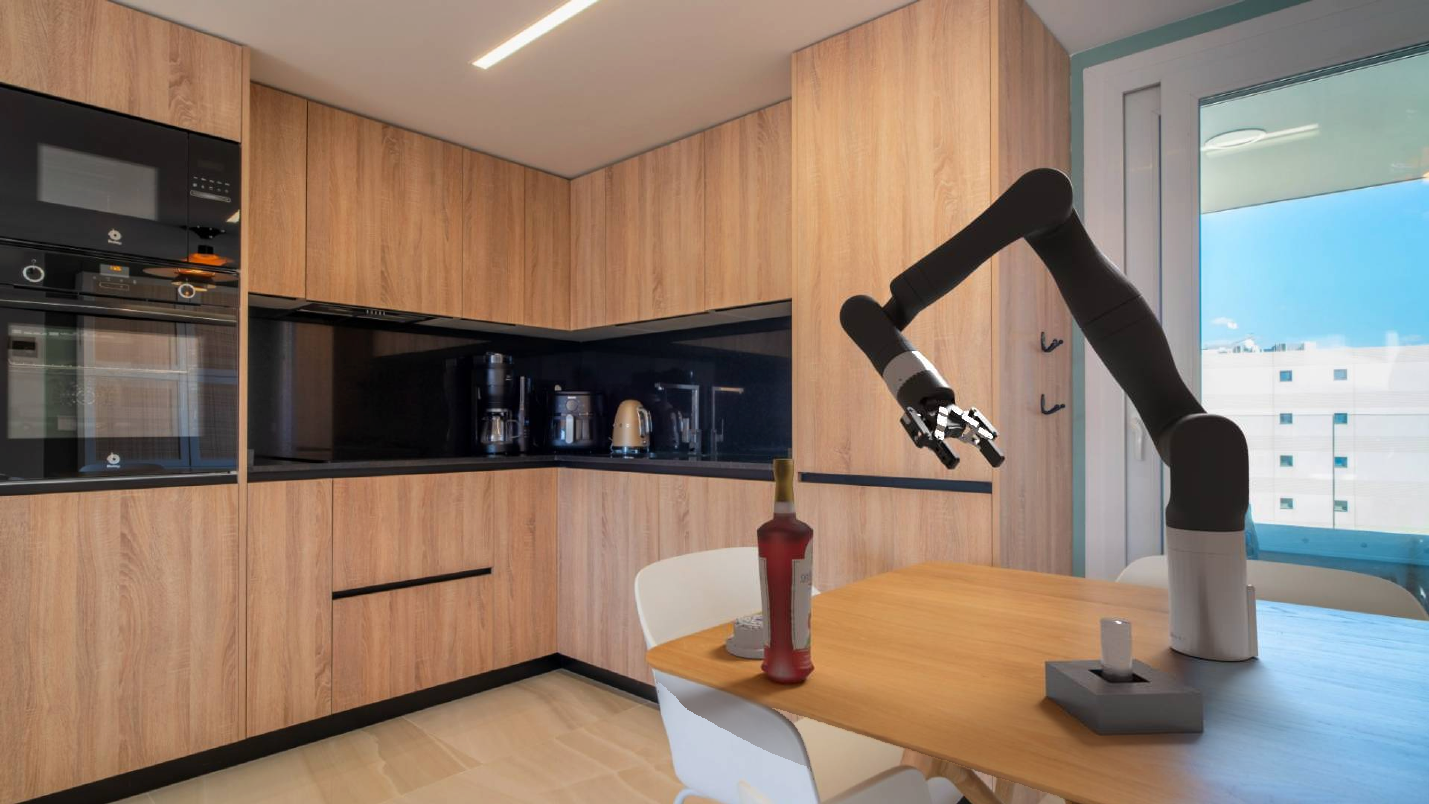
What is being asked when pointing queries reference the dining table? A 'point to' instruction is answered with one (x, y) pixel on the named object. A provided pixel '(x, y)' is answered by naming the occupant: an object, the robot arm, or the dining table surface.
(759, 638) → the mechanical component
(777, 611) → the liquor
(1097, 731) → the square hole block
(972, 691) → the dining table surface
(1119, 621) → the steel pin
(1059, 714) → the dining table surface
